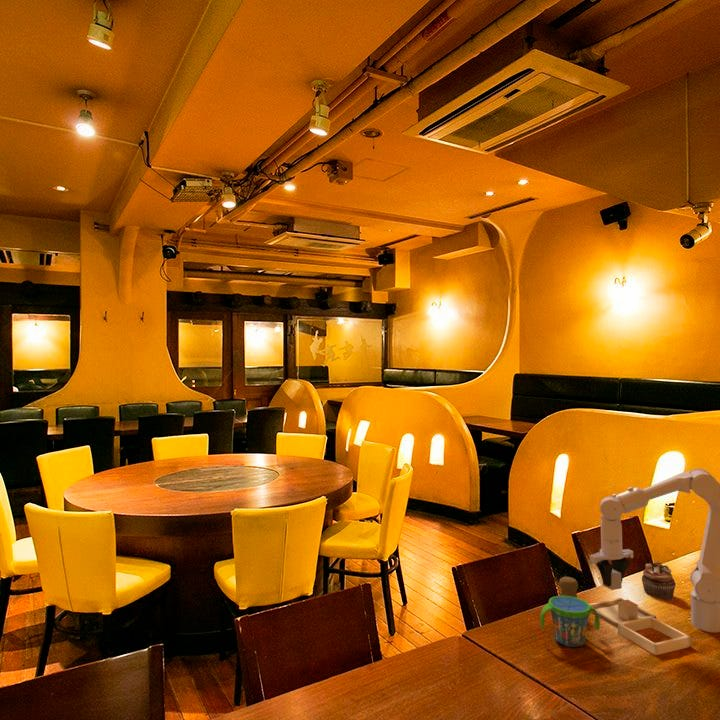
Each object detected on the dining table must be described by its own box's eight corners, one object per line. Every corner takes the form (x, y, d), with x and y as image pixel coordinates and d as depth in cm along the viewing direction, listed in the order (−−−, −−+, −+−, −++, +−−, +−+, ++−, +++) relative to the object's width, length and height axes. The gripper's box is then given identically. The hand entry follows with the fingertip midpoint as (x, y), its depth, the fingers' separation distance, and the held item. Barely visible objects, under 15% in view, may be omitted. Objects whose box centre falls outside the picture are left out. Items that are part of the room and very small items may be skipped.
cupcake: (634, 592, 173) (634, 561, 173) (658, 587, 176) (657, 557, 176) (659, 604, 164) (658, 572, 164) (683, 600, 167) (682, 568, 167)
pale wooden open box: (651, 628, 149) (651, 616, 149) (690, 650, 137) (690, 636, 137) (618, 636, 145) (617, 623, 145) (655, 659, 133) (655, 645, 133)
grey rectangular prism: (612, 583, 160) (611, 568, 160) (621, 588, 157) (621, 573, 157) (602, 585, 159) (602, 570, 159) (611, 590, 156) (611, 574, 156)
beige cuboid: (627, 614, 155) (627, 599, 155) (638, 620, 152) (637, 604, 152) (618, 616, 154) (618, 601, 154) (628, 622, 150) (627, 606, 150)
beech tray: (620, 604, 164) (620, 597, 164) (656, 623, 152) (656, 616, 152) (584, 611, 160) (584, 604, 160) (618, 631, 147) (617, 624, 147)
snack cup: (593, 632, 147) (592, 595, 147) (607, 652, 137) (606, 613, 137) (535, 630, 149) (534, 594, 149) (545, 650, 138) (544, 611, 138)
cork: (574, 610, 160) (574, 574, 160) (583, 620, 154) (583, 582, 154) (555, 611, 160) (554, 574, 160) (563, 620, 154) (562, 582, 154)
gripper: (620, 531, 164) (621, 575, 164) (582, 537, 160) (583, 582, 159) (638, 538, 158) (639, 584, 157) (599, 544, 153) (600, 591, 153)
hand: (612, 584), depth 158 cm, fingers closed on grey rectangular prism, 4 cm apart
